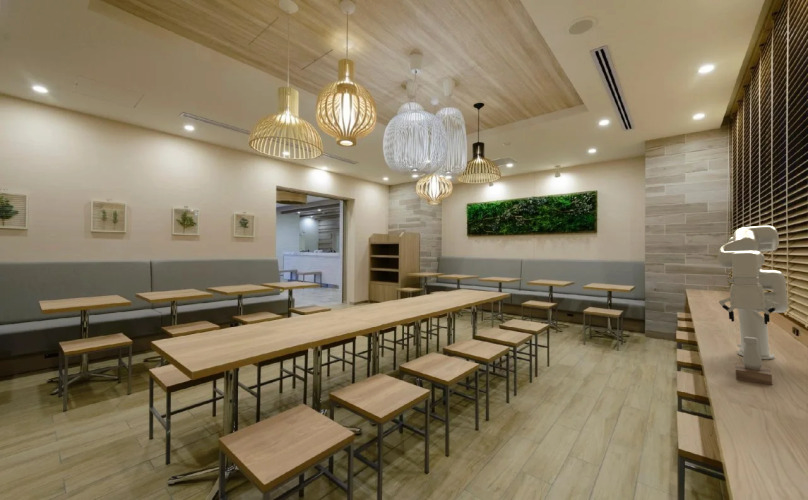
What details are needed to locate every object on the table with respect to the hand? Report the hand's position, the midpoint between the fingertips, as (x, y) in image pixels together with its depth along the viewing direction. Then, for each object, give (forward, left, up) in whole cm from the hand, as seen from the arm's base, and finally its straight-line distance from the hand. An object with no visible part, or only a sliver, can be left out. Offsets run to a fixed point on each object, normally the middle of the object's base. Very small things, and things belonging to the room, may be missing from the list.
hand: (749, 322), depth 138 cm
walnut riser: (0, 0, -23) cm, 23 cm away
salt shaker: (0, 0, -20) cm, 20 cm away
